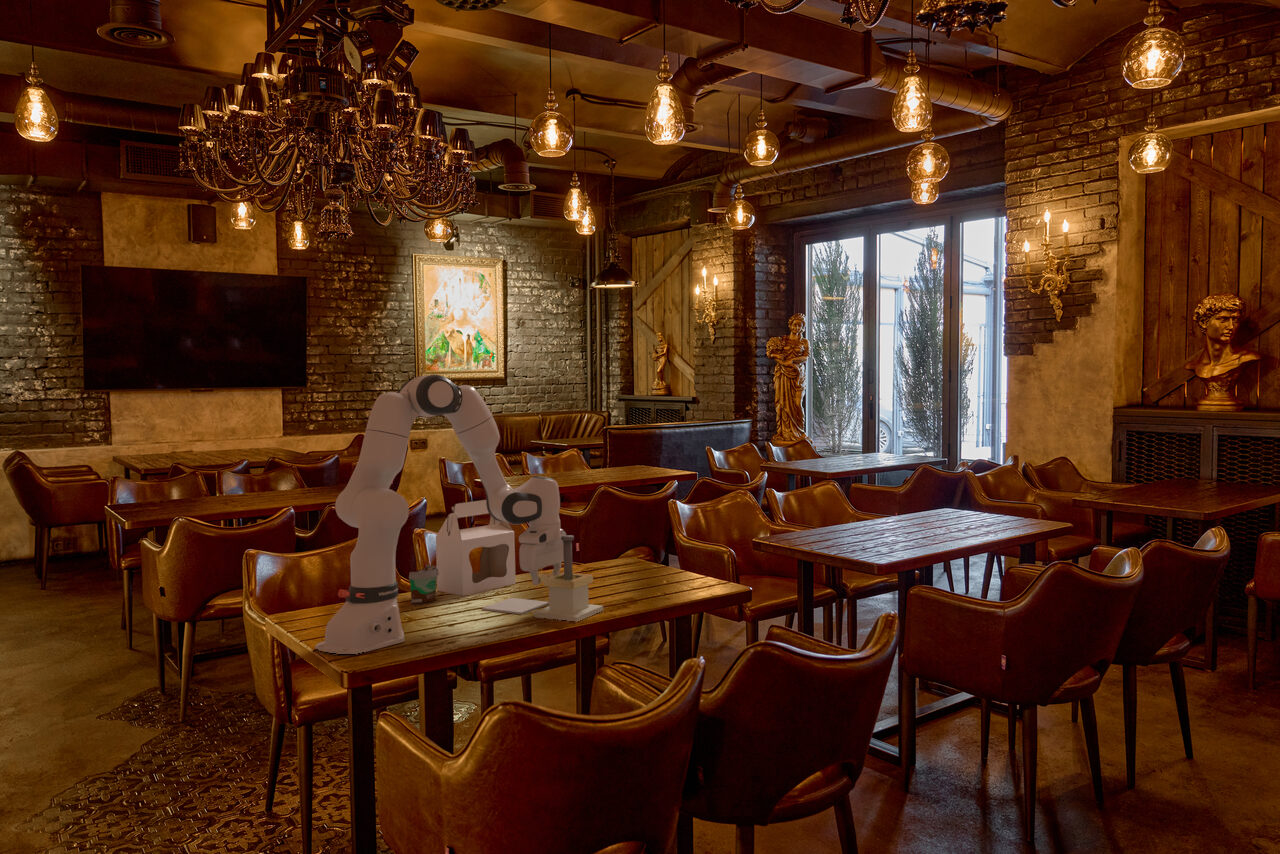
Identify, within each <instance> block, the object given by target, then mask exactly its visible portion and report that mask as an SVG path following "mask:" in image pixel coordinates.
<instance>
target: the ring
mask: <svg viewBox="0 0 1280 854" xmlns="http://www.w3.org/2000/svg"><path fill="white" fill-rule="evenodd" d="M537 574H538V577H539V578H541V581H540V582H541V583H543V587H548V588H549V587H558V588H567V589H576V588H578V587H581V586H584V585H587V584H588V585H589V584H591V583H594V576H593V574H585V573H575V572H573V580H567V579H564V571H563V572H559V574H557V575H551V573H550V574H548V573H537Z"/></svg>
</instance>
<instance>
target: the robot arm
mask: <svg viewBox="0 0 1280 854" xmlns="http://www.w3.org/2000/svg"><path fill="white" fill-rule="evenodd" d="M436 416H444V417H445V418H446V419H447V421H449V423H450V424H451V426H452V429H453V431H454V433H455V435H456V438H457V439H458V441H459V442H460V444H461V446H462V447H463V449H464V450H465V452H466V453H467V455H468V457H469V458H470V460H471V461H472V463H473V466H474V468H475V471H476V473H477V475H478V477H479V480H480V482H481V484H482V486H483V489H484V491H485V500H486V505H487V510H488V512H489V513H488V514H489V515H490V517H491V516H492V517H493V518H494V519H495V520H497V521H501V522H506V523H509V524H510V525H514V526H515V525H517V526H518V525H521V524H526V523H529V526H528V528H527V529H525V531H523V532H522V533H521V534H520V535H518V542H519V543H520V546H519V559H518V560H519V567H520V569H521V571H523V572H529V575H530V577H531V579H532V585H533V586H538V585H541V583H542V582H540V581H541V578H539V577H538V574H539V570H541V569H543V568H547V567H550V566H553V569H552V572H551V573H550V574H551V575H557V574H560V573H561V569H562V566H563V565H562V564H563V563H564V553H563V541H562V540H561V536H564V535H567V533H566V531H565V529H563V528H561V519H560V510H561V509H560V508H561V497H560V490H559V484H558V482H557V480H555V479H554V478H551V477H545V476H541V475H540V476H539V475H535V476H534V475H533V476H531V477H530V478H529V479H528V480H527V481H526V482H524V483H523V484H520V485H519V486H517V487H515V488H513V487H512V486H511V485H509V484H508V483H507V481H506V479H505V477H504V474H503V472H502V470H501V468H500V466H499V462H498V461H497V457H496V450H497V447H498V446H499V443H500V440H501V436H500V431H499V428H498V425H497V423H496V421H495V418H494V416H493V414H492V412H491V410H490V408H489V406H488V405H487V403H486V402H485V400H484V399H483V397H482V396H481V395H480V393H479V392H478V391H477V389H476V388H475V387H473V386H472V385H468V384H462V385H457V384H456V383H454V382H453V381H452V380H451V379H450V378H448V377H446V376H444V375H441V374H430V375H429V374H425V375H419V376H417V377H414V378H412V379H409V380H408V381H406V382H405V383H404V384H403V385H402V386H401V387H400V389H398V391H397V392H393V391H389V392H388V391H387V392H384V393H381V394H380V395H379V396H378V397H377V398H376V400H375V402H374V404H373V406H372V409H371V411H370V414H369V416H368V421H367V424H366V427H365V433H364V437H363V440H362V445H361V449H360V454H359V458H358V461H357V463H356V465H355V468H354V470H353V472H352V475H351V477H350V478H349V481H348V482H347V485H346V486H345V487H344V489H343V490H342V491H341V492H340V493H339V494H338V496H337V498H336V501H335V507H334V508H335V509H334V510H335V512H336V515H337V517H338V518H339V519H340V520H342V522H343V523H345V524H347V525H348V526H349V527H353V528H357V529H358V534H357V540H356V544H355V546H354V549H353V550H352V551H351V553H350V558H349V561H350V585H349V588H348V590H347V589H343V588H342V589H339V590H338V592H337V596H338V597H339V598H344V599H345V603H344V604H343V605H342V606H341V607H340V608H339V609H338V611H337V612H336V613H335V614H334V616H332V617H331V618H330V619H329V621H328V622H327V623H326V626H325V636H324V641H321V642H319V643H316V644H315V647H314V648H316V649H318V650H321V651H325V652H329V653H337V654H356V655H359V654H358V653H360V654H363V653H362V652H364V653H366V652H370V651H374V650H378V649H382V648H385V647H389V646H393V645H398V644H400V643H404V642H405V633H404V629H403V626H402V621H401V614H400V608H399V604H398V596H399V584H398V583H399V582H398V581H397V579H396V578H397V577H396V576H397V575H396V574H397V573H396V572H397V571H396V556H397V555H396V553H397V552H396V551H397V545H398V541H399V536H400V532H401V529H402V528H403V526H404V525H405V524H406V522H407V520H408V518H409V515H410V508H409V507H410V506H409V503H408V502H407V500H406V499H405V497H404V496H403V495H401V494H399V493H398V492H396V491H394V490H393V489H390V487H391V485H392V483H393V481H394V479H395V478H396V476H397V475H398V474H399V473H400V472H401V471H402V469H403V467H404V464H405V459H406V454H407V450H408V445H409V439H410V435H411V429H412V426H413V424H414V421H416V419H417V418H423V417H424V418H433V417H436ZM562 562H563V563H562ZM316 649H315V650H316ZM318 650H317V651H318ZM329 653H328V654H329ZM337 654H336V655H337Z"/></svg>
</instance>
